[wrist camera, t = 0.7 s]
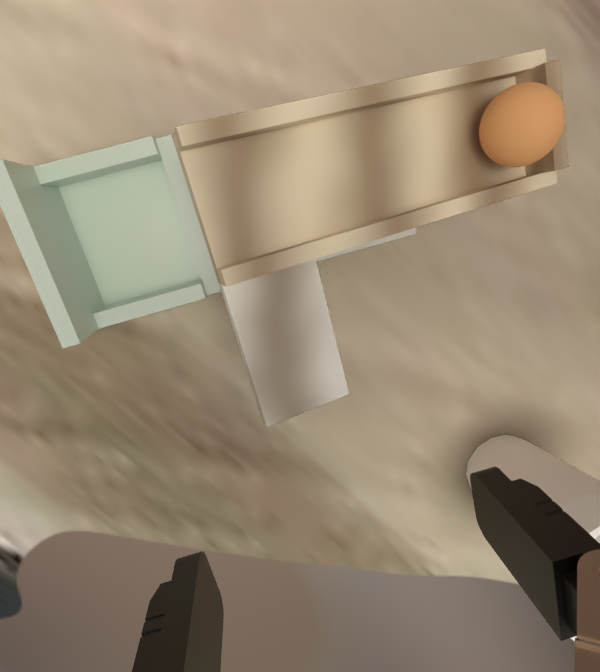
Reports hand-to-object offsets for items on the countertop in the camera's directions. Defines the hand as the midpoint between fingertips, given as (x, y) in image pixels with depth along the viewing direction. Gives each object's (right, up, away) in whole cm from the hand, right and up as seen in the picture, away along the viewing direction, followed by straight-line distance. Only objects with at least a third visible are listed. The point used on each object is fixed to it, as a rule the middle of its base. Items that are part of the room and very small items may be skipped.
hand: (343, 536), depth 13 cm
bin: (-12, +13, +18) cm, 25 cm away
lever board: (+3, +12, +14) cm, 19 cm away
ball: (+10, +17, +10) cm, 22 cm away
